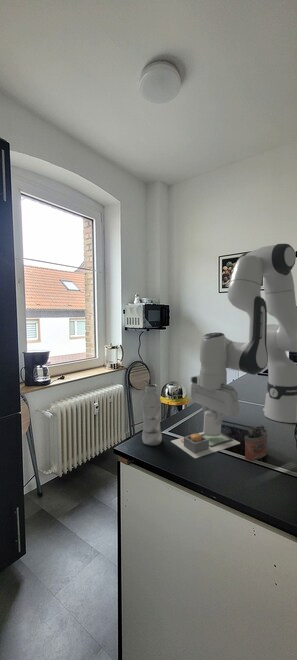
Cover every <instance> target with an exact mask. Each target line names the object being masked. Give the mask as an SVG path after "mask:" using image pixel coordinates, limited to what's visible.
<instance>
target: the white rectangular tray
mask: <svg viewBox="0 0 297 660" xmlns="http://www.w3.org/2000/svg"><path fill="white" fill-rule="evenodd" d="M196 434H200V435H201V436H202V441H199V442H193V441H192V440H191V434H190V435H189V434H188V435H186V436H183V437H180V438H177V439H173V440H170V442H171V443H172V444H174V445H175V446H177V447H178V448H179V449H181V450H182V451H183V452H185V453H187V454H188V455H189V456H191V457H192V458H194V459H198V458H201V457H204V456H208V455H210V454H212V453H216V452H219V451H222V450H225V449H228V448H231V447H234V446H237V445H240V444H241V442H240V441H238V440H235V439H233V438H232V437H230V436H229V435H226V434H225V433H222V432H221V435H219V436H206V435H205V434H204V431H202V432H198V433H196Z"/></svg>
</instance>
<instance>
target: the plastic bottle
mask: <svg viewBox="0 0 297 660" xmlns="http://www.w3.org/2000/svg"><path fill="white" fill-rule="evenodd" d="M144 392H145V393H144V395H143V396H142V398H141V402H140V403H141V409H142V421H143V425H142V434H141V439H142V443H143V445H144V444H145V445H146V446H153V447H154V446H158V445H160V444H161V443H162V439H163V436H162V430H161V423H160V421H161V420H160V419H161V418H160V416H161V415H160V414H161V406H162V401H161V398H160V396H159V395H158V394H157V392H158V390H157V385H156V384H147V385H145V389H144Z"/></svg>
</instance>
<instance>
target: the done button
mask: <svg viewBox="0 0 297 660" xmlns="http://www.w3.org/2000/svg"><path fill="white" fill-rule="evenodd" d="M190 435H191V440H192V441H193V442H199V441H202V436H201V435H200V434H197V433H192V434H190Z"/></svg>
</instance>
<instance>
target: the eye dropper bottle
mask: <svg viewBox="0 0 297 660" xmlns="http://www.w3.org/2000/svg"><path fill="white" fill-rule="evenodd" d="M218 416H219V415H217V411H214V410H212V409H210V408H209V410H207V411H205V413H204V412H203V432H204V434H205V435H206V436H219V435H221V433H222V424H221V425H218V424H216V423H215V419H216V418H218Z"/></svg>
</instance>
